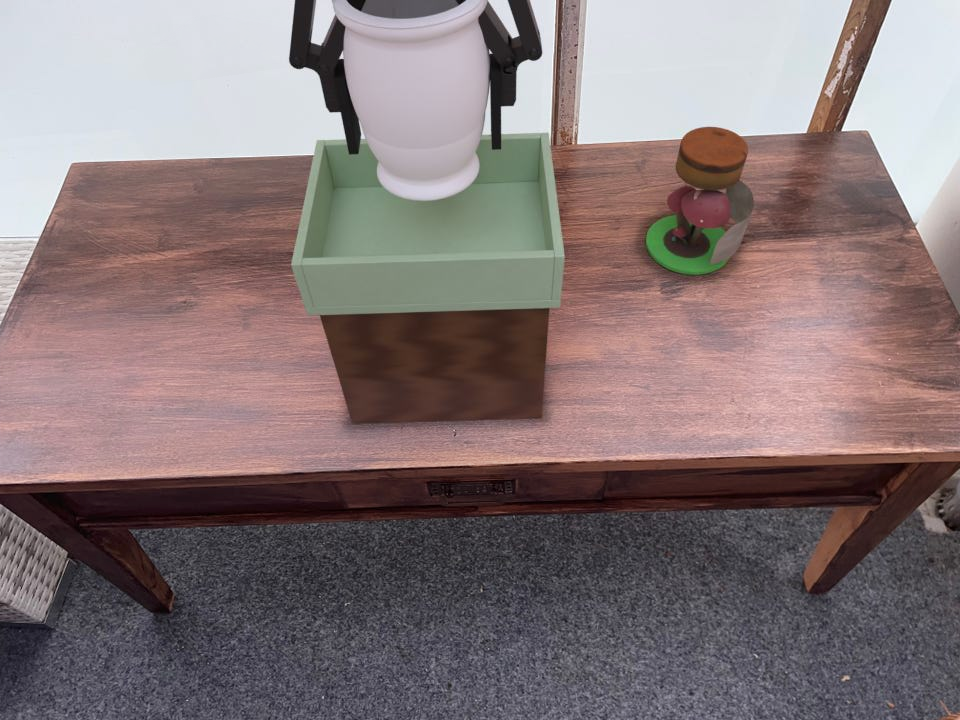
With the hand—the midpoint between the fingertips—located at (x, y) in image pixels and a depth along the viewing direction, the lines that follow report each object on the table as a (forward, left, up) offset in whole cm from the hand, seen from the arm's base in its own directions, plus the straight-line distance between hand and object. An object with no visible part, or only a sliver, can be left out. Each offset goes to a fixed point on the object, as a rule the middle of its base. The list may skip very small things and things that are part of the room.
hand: (425, 142), depth 58 cm
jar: (0, 0, -3) cm, 3 cm away
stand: (0, 0, -29) cm, 29 cm away
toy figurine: (+28, -21, -29) cm, 46 cm away
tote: (0, 0, -11) cm, 11 cm away
